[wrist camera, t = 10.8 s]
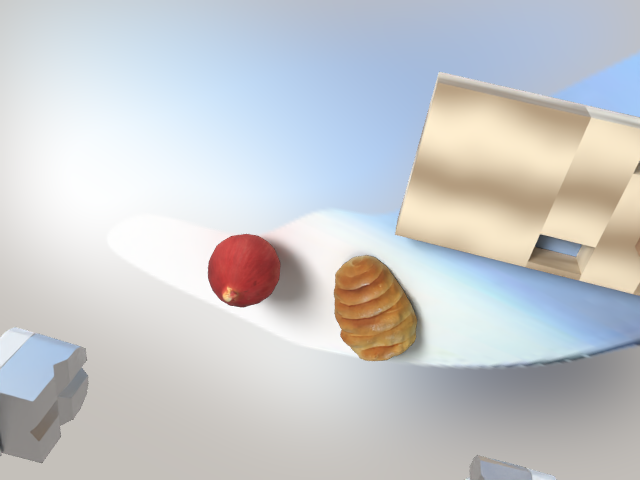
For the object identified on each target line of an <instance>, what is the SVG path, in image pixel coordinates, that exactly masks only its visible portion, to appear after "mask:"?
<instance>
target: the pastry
mask: <svg viewBox="0 0 640 480" xmlns="http://www.w3.org/2000/svg"><path fill="white" fill-rule="evenodd" d="M335 277H336V279H335V283H336V284H335V289H334V297H335V313H334V314H335V317H336V320H337V322H338V323H339V326H340V328H341V329H342V330H341V334H340V335H341V338H342V339H343V341H344V342H345V343H346V344H347V345H348V346H350V347H351V349H352V350H353V351H354V352H355V353H356V354H358V356H359V357H360V358H361V359H363V360H366V361H383V360H388V359H390V358H392V357H393V356H398V355H400V354H402V353H403V352H404V351H406V350H407V349H408V348H409V347H410V346H411V345H412V344H413V343H414V342H415V339H416V325H417V318H416V315H415V313H414V310H413V307H412V304H411V303H410V301H409V300H408V298H407V296H406V294H405V293H404V291H403V289H402V287H401V286H400V285H399V283H398V282H397V280H396V279H395V277H394V276H393V275H392V273H391V272H390V270H389V269H388V268H387V266H386V265H384V264H383V263H382V262H380V261H379V260H378V259H377V258H375V257H372V256H369V255H365V256H358V257H354V258H352V259H350V260H349V261H348V262H346V263H345V264H343V265H342V267H341V268H340V269H339V270H338V271H337V272H336V274H335Z"/></svg>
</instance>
